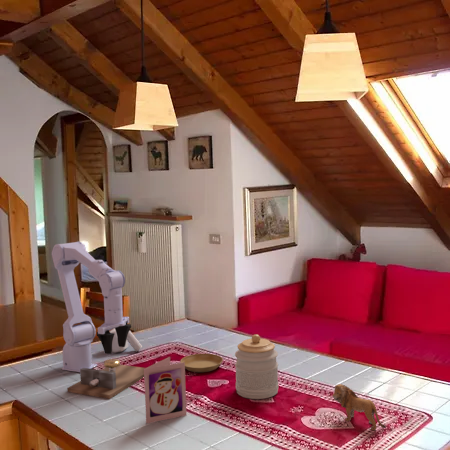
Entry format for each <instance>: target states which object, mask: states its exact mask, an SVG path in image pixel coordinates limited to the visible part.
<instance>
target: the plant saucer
mask: <svg viewBox="0 0 450 450" xmlns="http://www.w3.org/2000/svg"><path fill="white" fill-rule="evenodd" d="M223 361H224V358H223V357H222V356H221V355H217V354H214V353H195V354H190V355H187V356H184V357H182V358H181V359H180V361H179V363H183V362H185V370H187V371H189V372H192V373H207V372H212V371H214V370H216V369H217V368H218V367H220V365H221V364H222V363H223Z"/></svg>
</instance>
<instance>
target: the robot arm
mask: <svg viewBox="0 0 450 450" xmlns="http://www.w3.org/2000/svg"><path fill="white" fill-rule="evenodd" d="M86 248H87V247H86V245H85V244H84V243H83V242H81V241H75V242H67V243H56V244H54V246H53V248H52V251H51V257H52V261H53V266H54V269H55V270H57V273H58V274H57V275H58V278H59V282H60V287H61V291H62V295H63V300H64V303H65V309H66V312H67V317H68V318H67V319H66V320H65V321H64V323H63V324H62V327H63V333H62V335H63V340H64V341H65V343H64V345H63V348H62V365H63V367H62V368H61V370H63V371H70V372H76V373H80V369H82V368H89V369H95V368H96V367H97V366H98V364H97V363H92V362H93V361H92V343H93V340H94V338H95V337H98V339H99V340H100V343H101V345H102V348H103V352H104V354H105V355H106V354H107V355H112V353H113V351H112V341H113V337H114V333H110V331H111V330H113V329H114V328H115V330H116V333H117V339H118V345H119V347H125V344H126V340H127V336H128V333H129V330H130V331H131V328H132V324H130V316H124V315H123V314H124V313H123V292H122V291H123V289H122V288H123V287H124V286H125V284H126V277H125V274H124V273H123V272H122V271H121V270H120V269H117V270H115V269H113V268H112V267H110V266H109V265H108V264H106V263H105V262H104V260H103V259H95V258H94V256H92V255H91V254H90V253H89V252H88V251H87V250H86ZM79 264H82V265H83V266H85V267H86V268H87V269H88V274H90V276H92V277H93V278H94V279H95V280H97V281H98V283H99V287H100V290H101V294H102V296H103V307H104V323H103V324H101V325H100V326H99V327H97V330H96V327H95V325H94V323H93V321H92V318H91V317H90V316H89V315H87V314H85V313H84V309H83V305H82V302H81V297H80V291H79V289H78V284H77V280H76V276H75V272H74V270H75V268H77V266H79Z"/></svg>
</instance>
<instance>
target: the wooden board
mask: <svg viewBox="0 0 450 450" xmlns="http://www.w3.org/2000/svg"><path fill="white" fill-rule="evenodd" d="M145 368H146V367H140V366H134V365H133V366H132V365H126V364H120V365H119V366H117V367H115V370H116V372H110V371H109V368H107V367H105V368H102V369H96V368H92V369H89V368H82V369H80V372H79V374H80V380H79V381H78V382H76V383H75V384H72V385H71V386H69V387H67V388H66V389H67V393H73V394H79V395H85V396H90V397H95V398H101V399H109V400H111V399H113V398H115V396H117V395H119V394H120V393H122V392H124V391H125V390H127V389H128V387H129V388H130V387H132V386H134V385H135V384H137V383H138V382H140V381H141V380H140V379H142V378H143V377H144V369H145ZM96 378H99V380H100V383H99V384H97V385H96V386H94V387H91V386H90V382H91V381H92V380H94V379H96ZM143 379H144V378H143ZM143 379H142V380H143ZM139 380H140V381H139ZM137 381H138V382H137ZM136 382H137V383H136ZM134 383H135V384H134ZM131 385H132V386H131Z"/></svg>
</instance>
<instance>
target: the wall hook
mask: <svg viewBox="0 0 450 450" xmlns="http://www.w3.org/2000/svg"><path fill="white" fill-rule="evenodd" d="M109 332H110V333H114V337H113V341H112V353H113V354H115V353H121V352H124V351H126V349H127V348H129V345H131V347H132V349H133V350H134V351H135V352H138V351H139V350H141V348H143V345H142V344H141V343H140V341H139V340H138V339H137V338H136V336H135V335H134V334H133V333H132V331H131V329H130V330H129V333H128V336H127V340H126V344H125V347H119V345H118V339H117V333H116V330H115V328H114V329H112V330H109Z"/></svg>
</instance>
